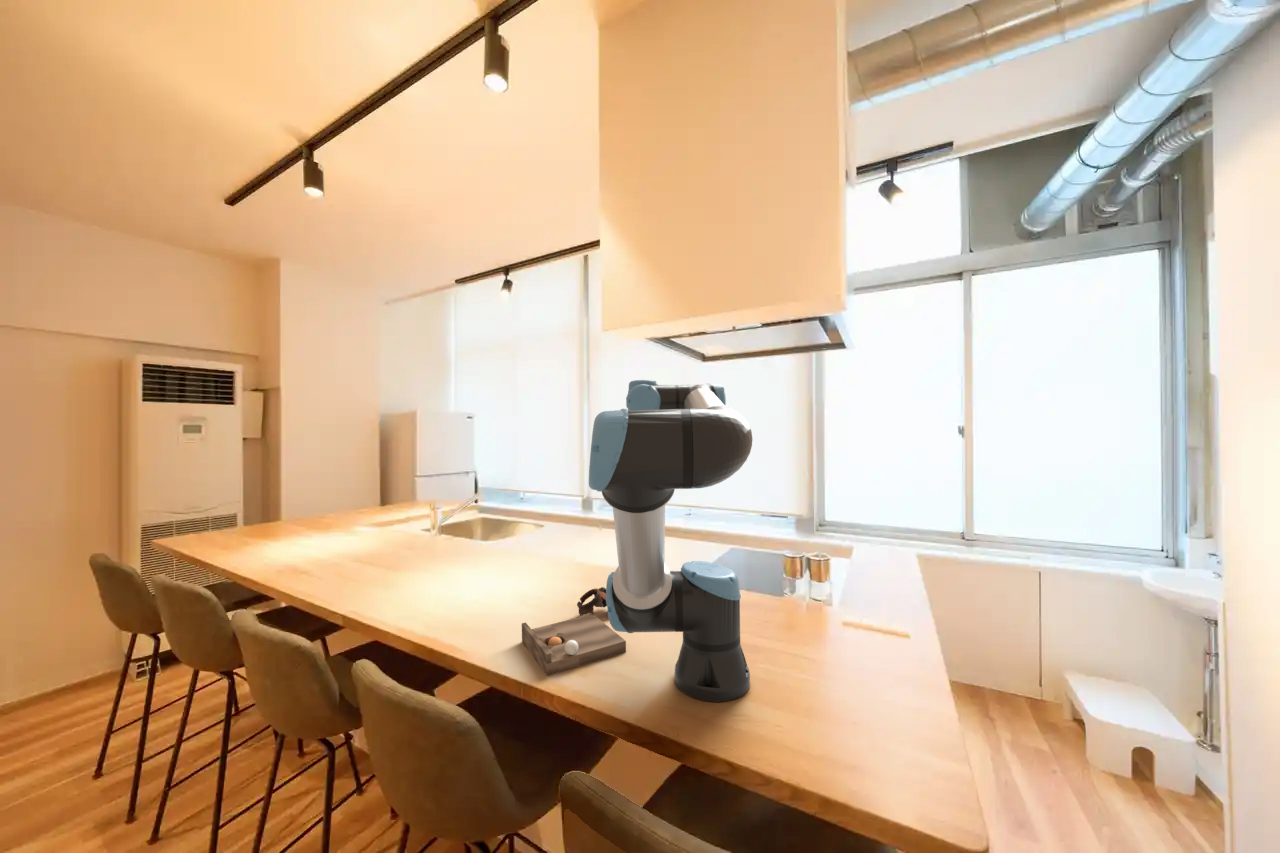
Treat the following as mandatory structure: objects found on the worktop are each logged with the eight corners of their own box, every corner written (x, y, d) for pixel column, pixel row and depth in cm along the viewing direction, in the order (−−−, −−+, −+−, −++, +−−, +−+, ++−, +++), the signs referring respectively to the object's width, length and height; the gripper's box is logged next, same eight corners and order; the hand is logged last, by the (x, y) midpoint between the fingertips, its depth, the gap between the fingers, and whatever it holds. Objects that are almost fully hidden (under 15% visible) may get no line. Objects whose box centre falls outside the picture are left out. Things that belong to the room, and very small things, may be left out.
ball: (566, 642, 108) (555, 637, 107) (559, 655, 107) (548, 651, 106) (561, 637, 111) (550, 632, 110) (554, 650, 110) (543, 645, 109)
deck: (625, 651, 108) (625, 632, 108) (547, 675, 98) (546, 654, 98) (592, 623, 123) (592, 606, 123) (522, 641, 113) (521, 623, 113)
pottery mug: (614, 625, 123) (598, 600, 122) (585, 637, 125) (569, 613, 124) (622, 597, 134) (607, 574, 133) (595, 609, 137) (580, 586, 135)
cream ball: (580, 655, 101) (580, 641, 101) (567, 659, 100) (567, 645, 100) (575, 649, 104) (575, 636, 104) (562, 653, 102) (562, 639, 102)
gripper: (658, 441, 123) (659, 530, 123) (614, 443, 116) (615, 537, 116) (674, 441, 116) (675, 536, 116) (629, 444, 110) (630, 543, 110)
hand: (645, 536), depth 116 cm, fingers closed
